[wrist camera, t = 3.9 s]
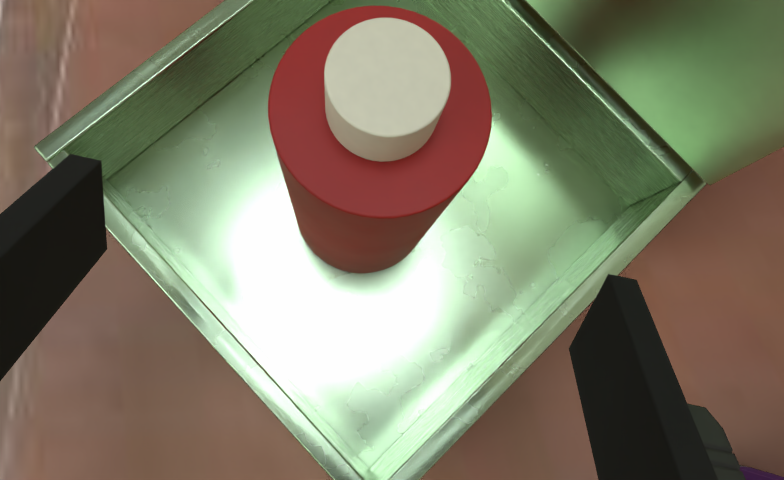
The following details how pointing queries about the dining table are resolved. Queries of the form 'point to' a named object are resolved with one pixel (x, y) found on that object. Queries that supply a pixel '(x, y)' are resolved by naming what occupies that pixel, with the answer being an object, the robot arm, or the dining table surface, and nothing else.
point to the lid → (689, 70)
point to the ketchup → (376, 131)
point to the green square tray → (412, 274)
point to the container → (758, 474)
